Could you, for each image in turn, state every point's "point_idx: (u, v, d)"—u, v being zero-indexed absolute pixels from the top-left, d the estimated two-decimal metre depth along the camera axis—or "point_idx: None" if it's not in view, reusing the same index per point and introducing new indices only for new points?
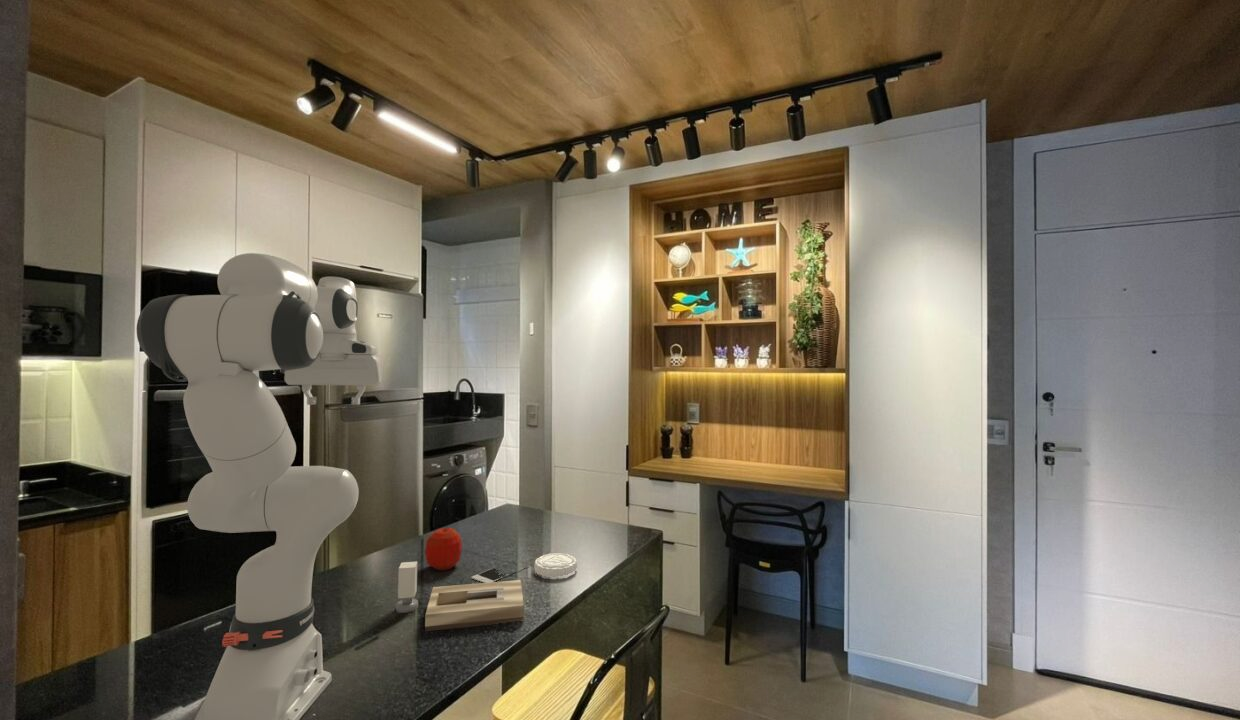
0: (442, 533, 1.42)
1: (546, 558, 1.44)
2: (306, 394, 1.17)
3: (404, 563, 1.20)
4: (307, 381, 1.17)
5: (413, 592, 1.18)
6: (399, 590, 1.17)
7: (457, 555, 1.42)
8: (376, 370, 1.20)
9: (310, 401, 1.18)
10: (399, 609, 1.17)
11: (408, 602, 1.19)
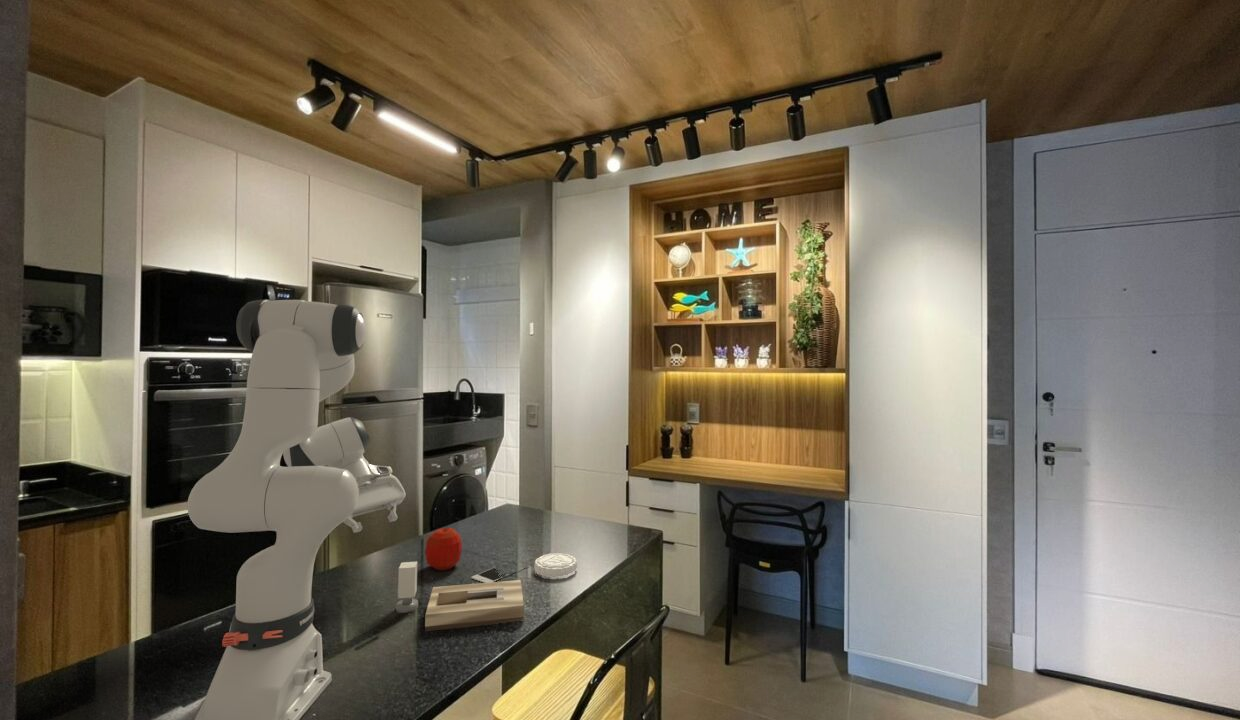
0: (442, 533, 1.42)
1: (546, 558, 1.44)
2: (353, 521, 1.22)
3: (404, 563, 1.20)
4: None
5: (413, 592, 1.18)
6: (399, 590, 1.17)
7: (457, 555, 1.42)
8: (401, 485, 1.37)
9: (358, 526, 1.22)
10: (399, 609, 1.17)
11: (408, 602, 1.19)
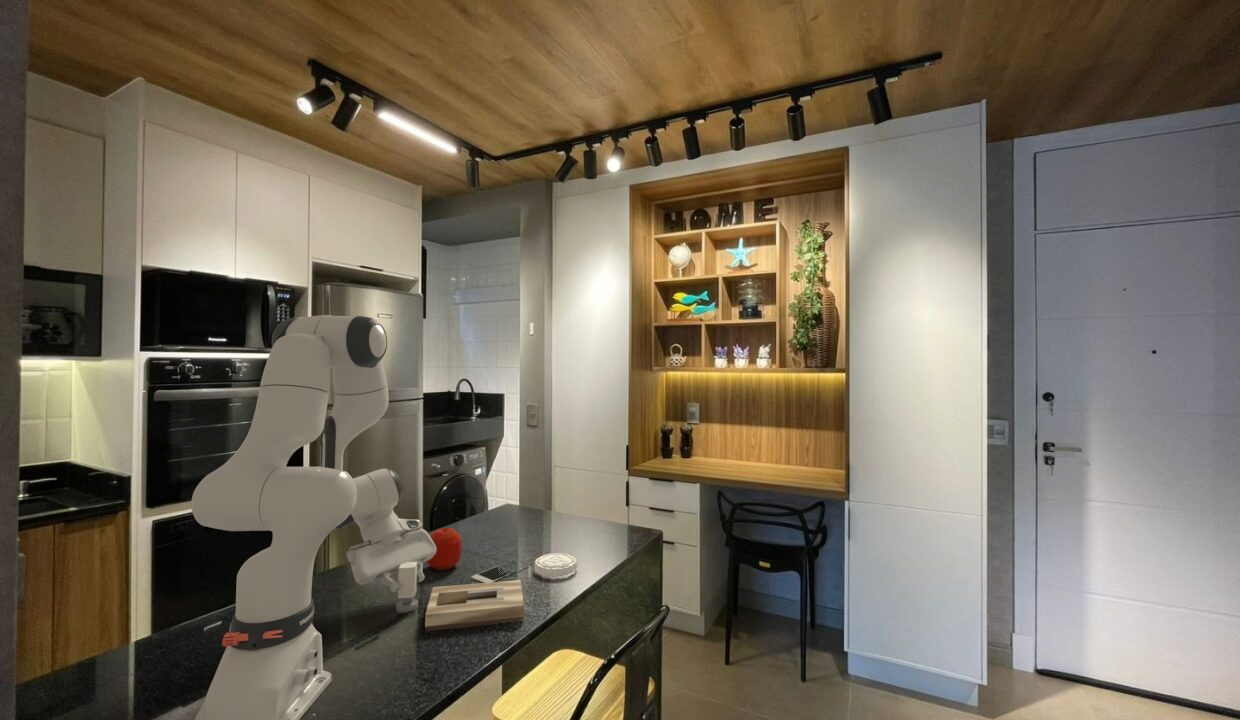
0: (442, 533, 1.42)
1: (546, 558, 1.44)
2: (391, 580, 1.16)
3: (404, 563, 1.20)
4: (383, 568, 1.16)
5: (413, 592, 1.18)
6: (399, 590, 1.17)
7: (457, 555, 1.42)
8: (431, 539, 1.30)
9: (397, 585, 1.16)
10: (399, 609, 1.17)
11: (408, 602, 1.19)
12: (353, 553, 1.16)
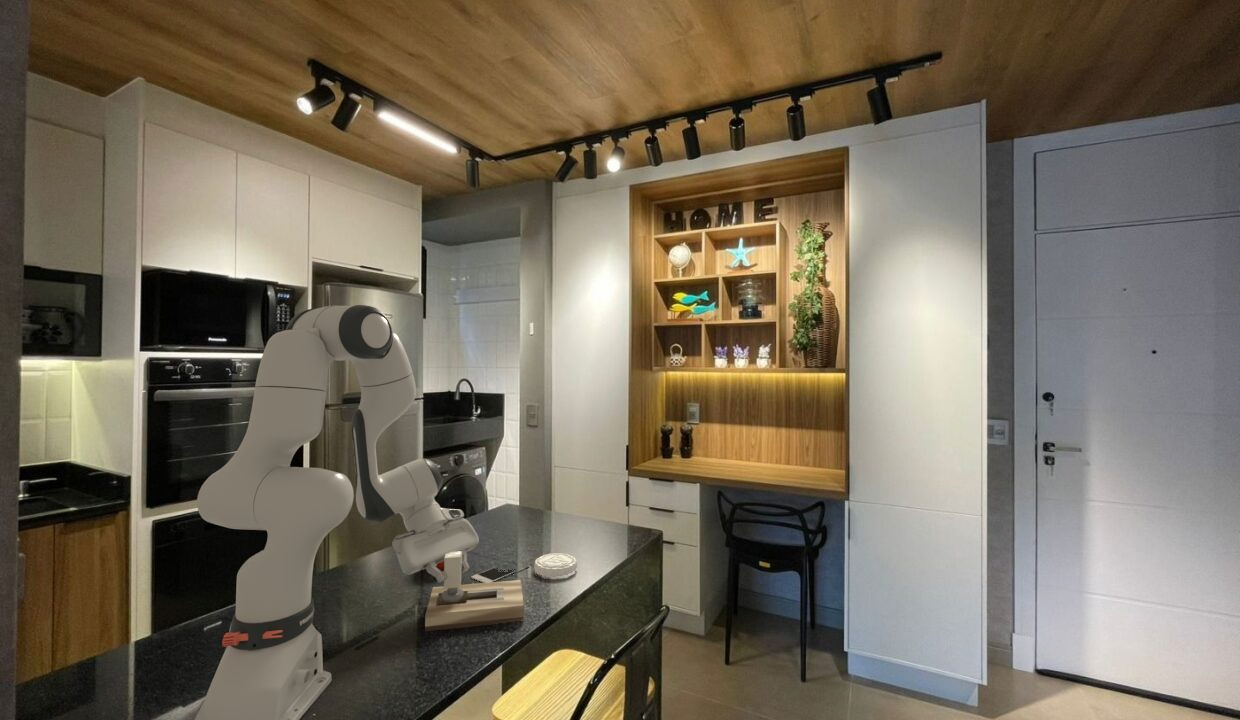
0: None
1: (546, 558, 1.44)
2: (437, 570, 1.14)
3: (449, 553, 1.18)
4: (429, 557, 1.14)
5: (459, 582, 1.16)
6: (445, 580, 1.15)
7: None
8: (473, 529, 1.28)
9: (443, 575, 1.14)
10: (445, 599, 1.15)
11: (454, 592, 1.17)
12: (399, 543, 1.14)
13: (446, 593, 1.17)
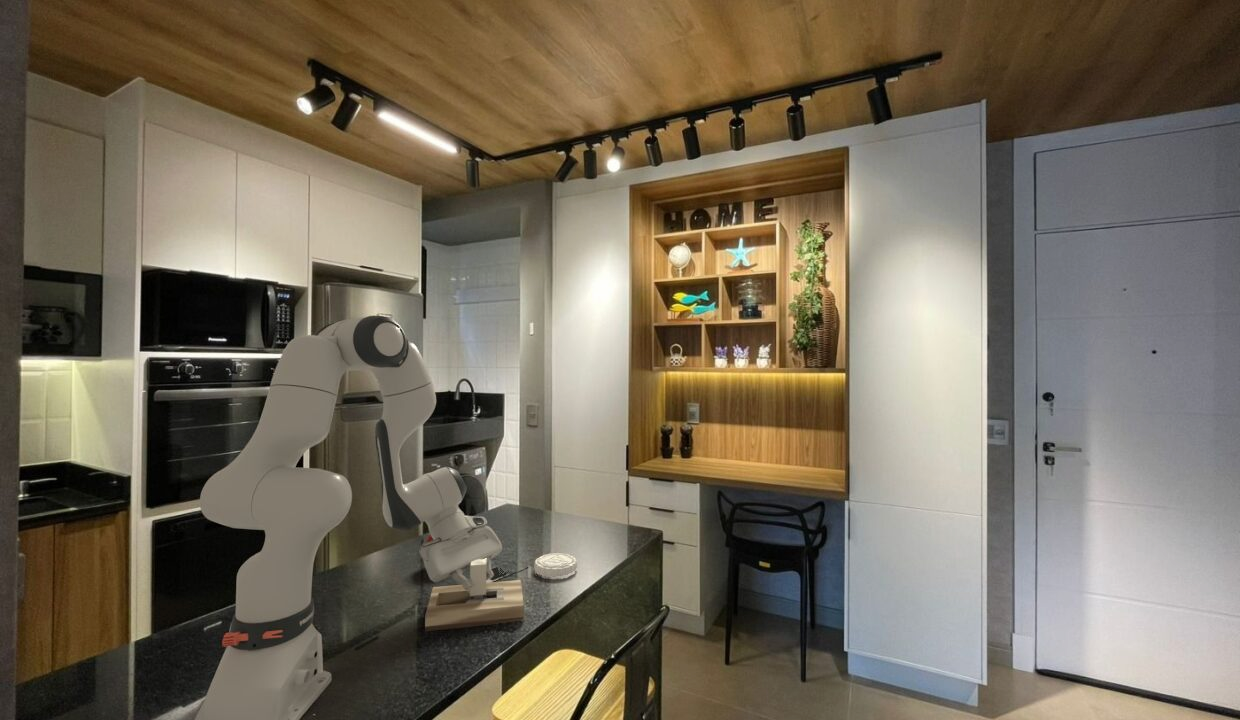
0: None
1: (546, 558, 1.44)
2: (463, 577, 1.15)
3: (474, 560, 1.20)
4: (455, 565, 1.15)
5: (485, 589, 1.17)
6: (471, 587, 1.17)
7: None
8: (496, 536, 1.29)
9: (469, 582, 1.16)
10: None
11: None
12: (426, 550, 1.15)
13: None
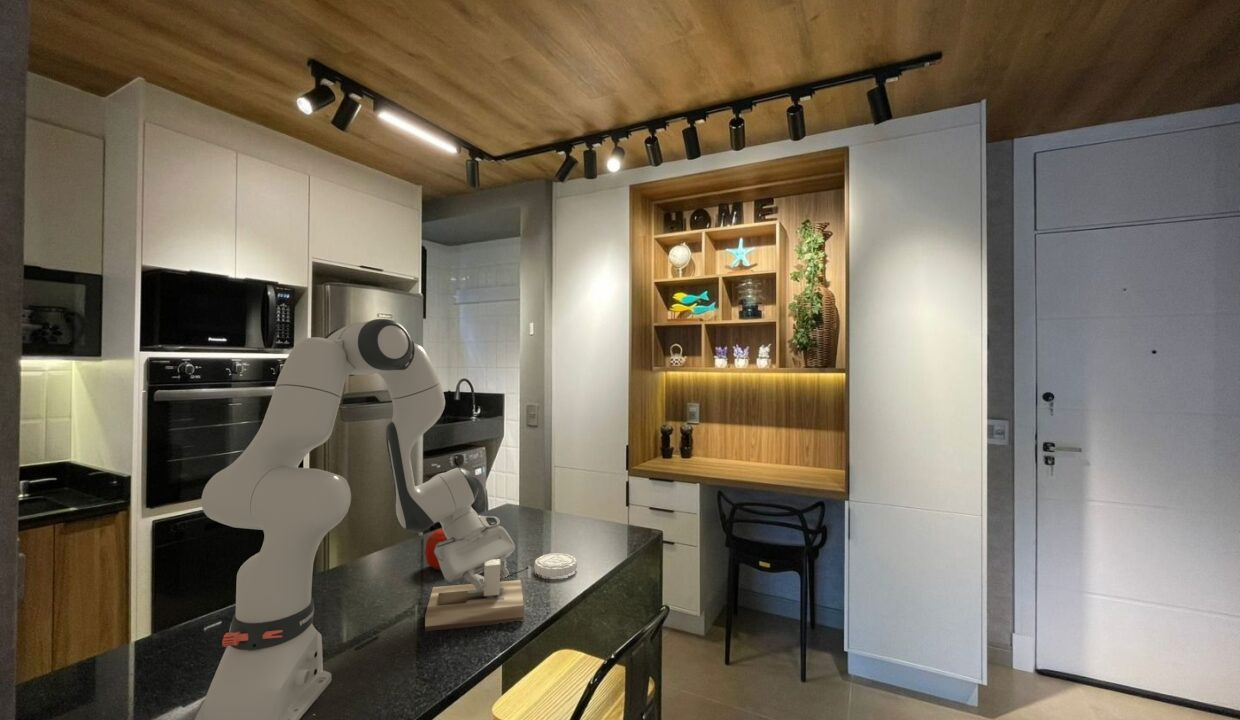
0: (442, 533, 1.42)
1: (546, 558, 1.44)
2: (476, 577, 1.15)
3: None
4: (470, 564, 1.16)
5: (498, 589, 1.18)
6: (485, 587, 1.17)
7: None
8: (509, 536, 1.30)
9: (482, 583, 1.16)
10: None
11: None
12: (440, 550, 1.16)
13: None
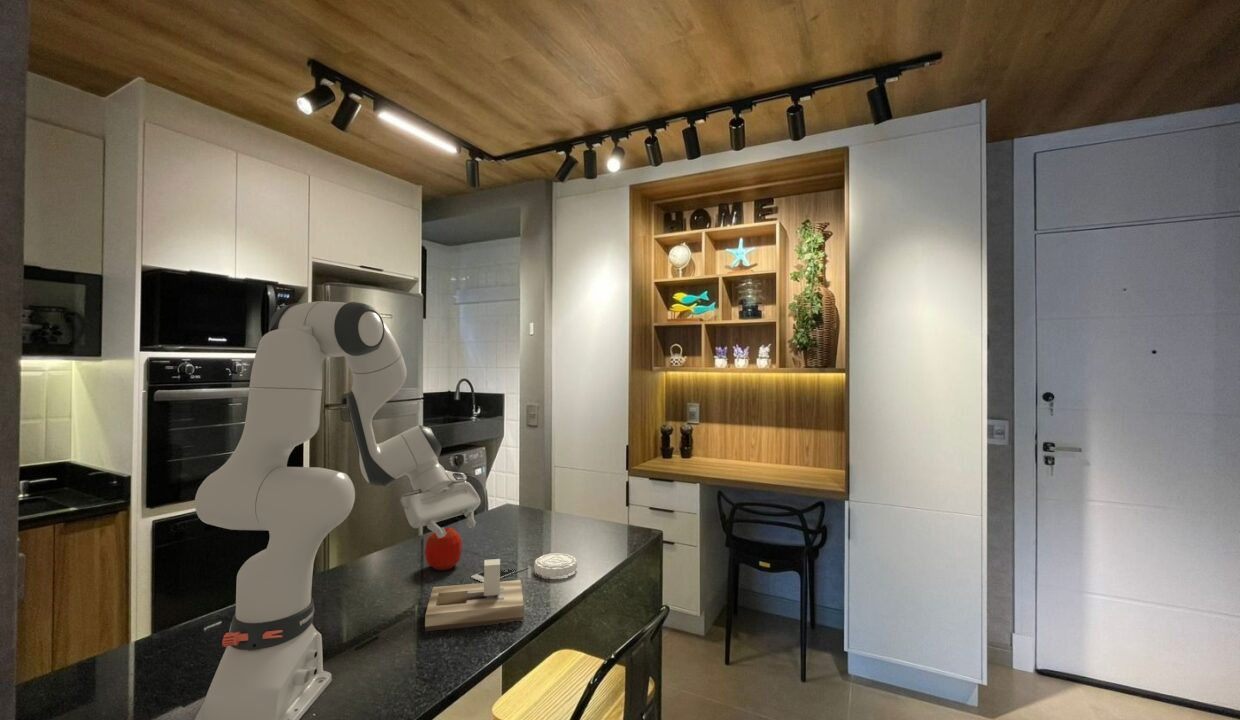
0: None
1: (546, 558, 1.44)
2: (437, 526, 1.22)
3: (488, 560, 1.20)
4: (434, 513, 1.23)
5: (498, 589, 1.18)
6: (485, 587, 1.17)
7: (457, 555, 1.42)
8: (475, 491, 1.36)
9: (443, 531, 1.22)
10: None
11: None
12: (406, 499, 1.22)
13: None
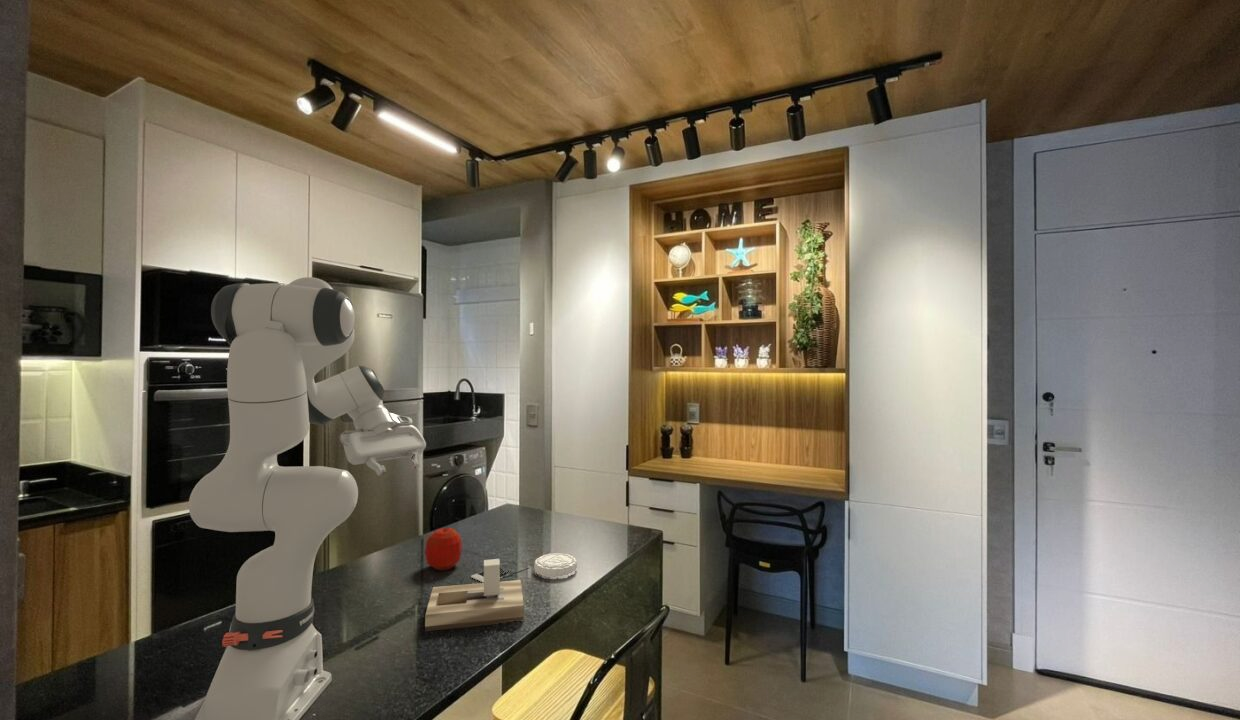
0: (442, 533, 1.42)
1: (546, 558, 1.44)
2: (376, 463, 1.21)
3: (487, 561, 1.20)
4: (374, 451, 1.22)
5: (498, 589, 1.18)
6: (485, 588, 1.17)
7: (457, 555, 1.42)
8: (421, 435, 1.36)
9: (382, 468, 1.21)
10: None
11: None
12: (346, 436, 1.22)
13: None
